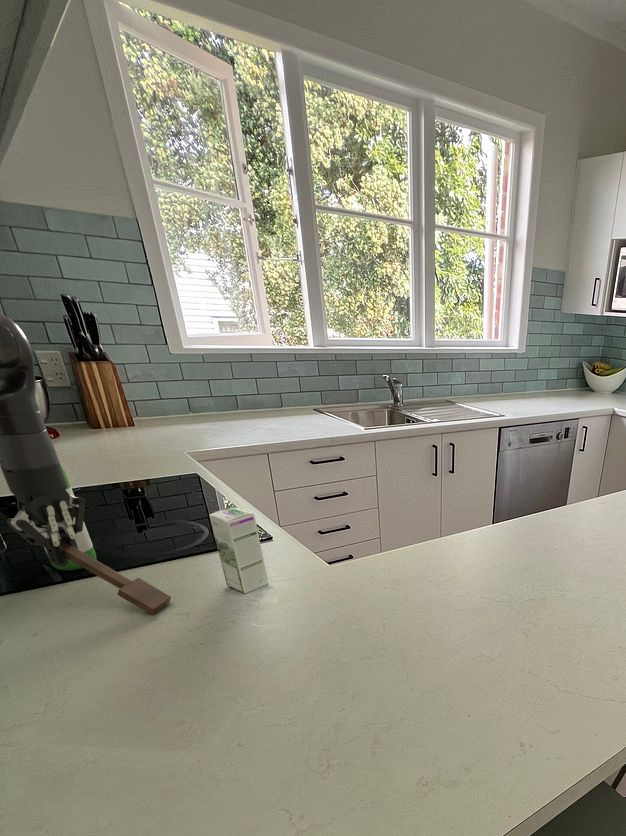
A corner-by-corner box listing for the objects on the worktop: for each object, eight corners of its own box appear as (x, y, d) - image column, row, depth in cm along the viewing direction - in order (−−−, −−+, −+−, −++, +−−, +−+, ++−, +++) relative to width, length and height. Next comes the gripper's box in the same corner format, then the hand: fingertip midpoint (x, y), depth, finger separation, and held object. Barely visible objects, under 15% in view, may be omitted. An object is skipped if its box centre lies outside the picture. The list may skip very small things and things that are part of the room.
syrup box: (270, 584, 106) (256, 511, 98) (243, 594, 101) (226, 520, 94) (251, 576, 108) (236, 505, 101) (225, 586, 104) (207, 513, 96)
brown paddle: (40, 550, 91) (41, 544, 90) (64, 540, 95) (65, 534, 94) (151, 614, 94) (153, 609, 93) (169, 602, 98) (171, 596, 97)
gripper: (44, 448, 91) (79, 545, 100) (-35, 469, 79) (12, 576, 89) (85, 453, 90) (116, 550, 99) (11, 474, 79) (54, 581, 88)
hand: (67, 561), depth 94 cm, fingers closed on brown paddle, 2 cm apart
